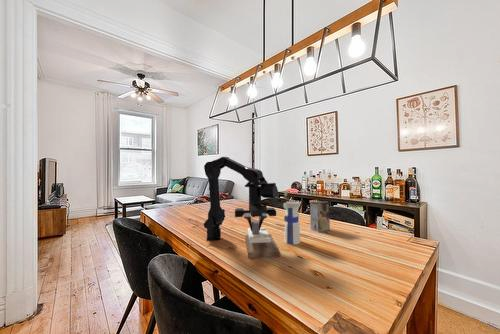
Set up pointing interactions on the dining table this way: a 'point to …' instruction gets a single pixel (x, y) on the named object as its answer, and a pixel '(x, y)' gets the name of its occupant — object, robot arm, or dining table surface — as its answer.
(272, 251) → the peg board
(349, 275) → the dining table surface
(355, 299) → the dining table surface
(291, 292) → the dining table surface
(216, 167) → the robot arm
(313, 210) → the coffee box
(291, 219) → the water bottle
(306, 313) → the dining table surface
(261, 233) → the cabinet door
